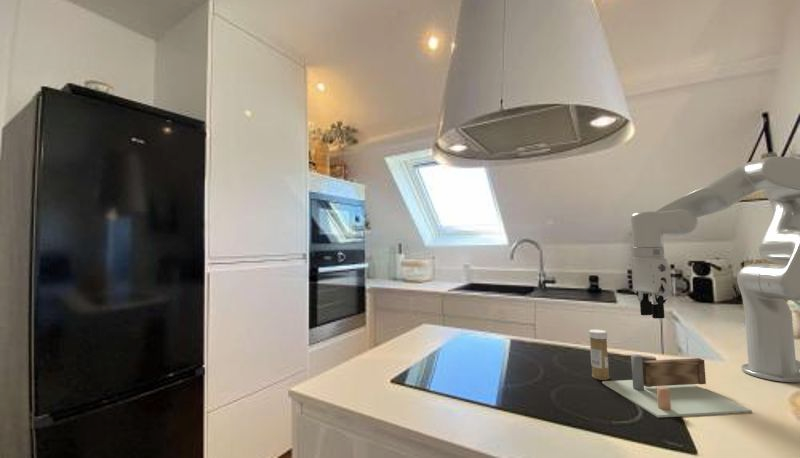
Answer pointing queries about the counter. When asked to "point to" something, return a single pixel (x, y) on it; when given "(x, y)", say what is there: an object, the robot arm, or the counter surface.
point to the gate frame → (671, 396)
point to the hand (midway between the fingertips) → (652, 315)
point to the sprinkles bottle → (599, 354)
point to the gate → (673, 372)
